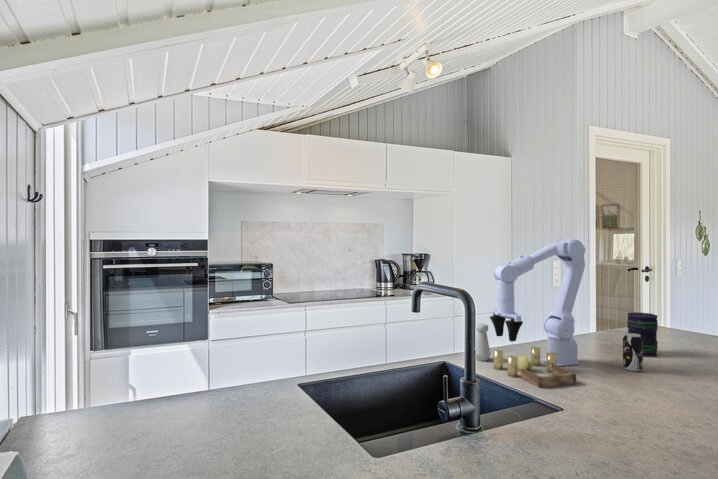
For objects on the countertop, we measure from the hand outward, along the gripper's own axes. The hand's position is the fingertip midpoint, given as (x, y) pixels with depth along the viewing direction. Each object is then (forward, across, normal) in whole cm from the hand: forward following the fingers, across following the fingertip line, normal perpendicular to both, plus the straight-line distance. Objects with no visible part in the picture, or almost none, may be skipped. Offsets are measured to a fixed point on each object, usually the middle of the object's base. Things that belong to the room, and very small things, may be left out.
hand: (506, 338), depth 154 cm
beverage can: (+10, +17, +38) cm, 42 cm away
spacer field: (+9, +6, +3) cm, 12 cm away
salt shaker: (+10, -8, -4) cm, 13 cm away
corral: (+9, +18, +3) cm, 20 cm away
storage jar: (+10, +2, +59) cm, 60 cm away
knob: (+10, +6, +3) cm, 12 cm away
